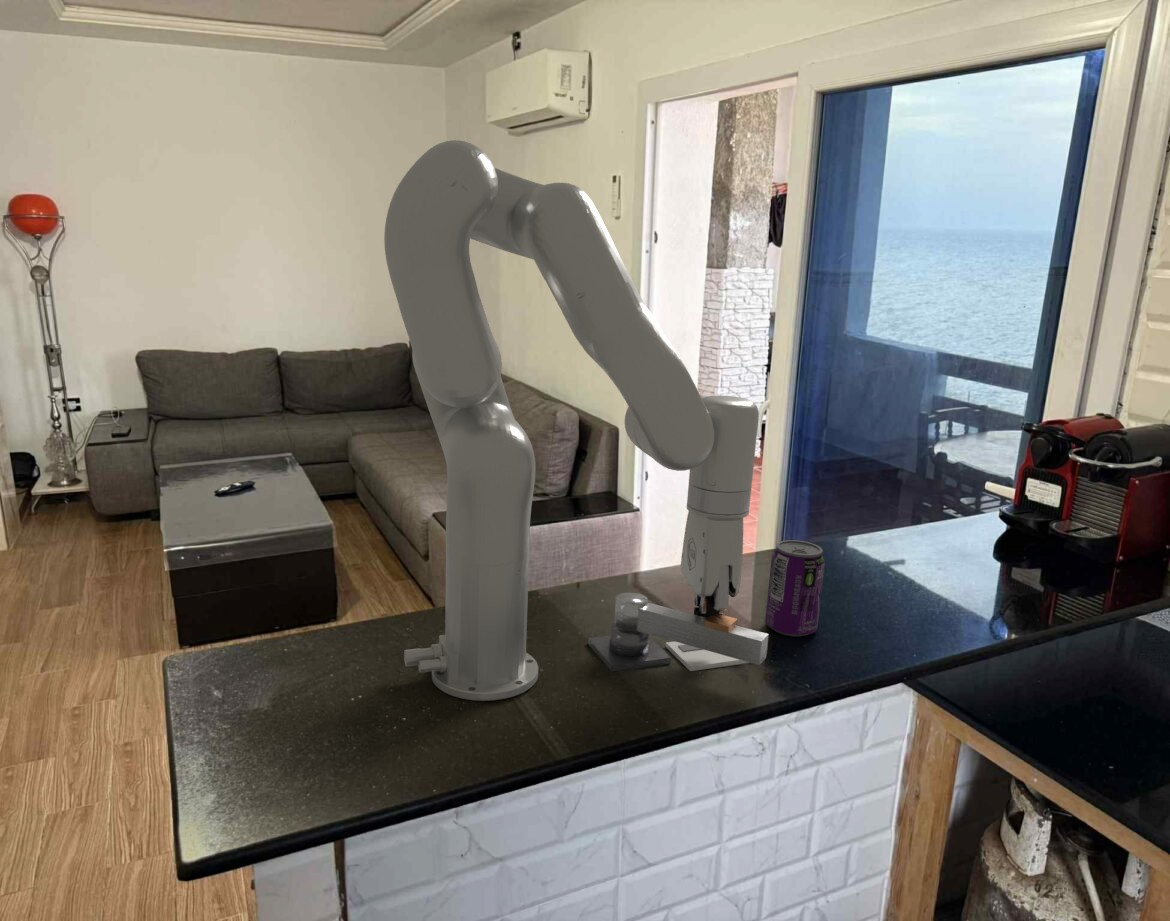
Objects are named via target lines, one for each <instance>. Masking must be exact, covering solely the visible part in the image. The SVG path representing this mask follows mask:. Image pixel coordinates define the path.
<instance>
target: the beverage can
mask: <svg viewBox="0 0 1170 921" xmlns="http://www.w3.org/2000/svg"><path fill="white" fill-rule="evenodd" d="M775 548H776V549H775V550H774V552H773V554H772V555H771V560H770V568H769V569H770V570H769V579H768V580H769V581H768V588H767V589H768V591H767V599H766V600H767V601H766V607H765V608H766V609H765V619H764V623H765V624H766V625H767V627H769V628H770V629H772V630H774V631H775V632H776V633H778V634H780V635H784V636H787V637H794V638H795V637H797V638H799V637H803V636H804V637H805V636H807V635H810V634H811V635H812V634H814V633H816V632H817V630H818V625H819V616H820V609H821V608H820V607H821V599H822V592H823V591H822V590H823V582H824V581H823V580H824V573H825V566H826V564H825V560H824V558H823V552H824V551H823V550H824V549H823V548H822V547H821V546H819V545H818V544H816V543H812V542H809V541H803V540H796V539H794V540H792V539H788V540H787V539H786V540H781V541H778V542H777V543H776V547H775Z"/></svg>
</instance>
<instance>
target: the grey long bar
mask: <svg viewBox="0 0 1170 921" xmlns="http://www.w3.org/2000/svg"><path fill="white" fill-rule="evenodd" d="M614 610H615V611H614V622H615V623H614V622H613V623H614V624H615V626H616V627H617V628H619V629H622V630H625V631H639V632H643V633H646V634H649V636H654V637H657V638H661V639H665V640H668V641H670V642H674V641H675V642H679V643H682V644H686V645H689V646H693V647H696V648H700V649H703V650H707V651H711V652H714V653H718V654H721V655H725V656H728V657H732V658H735V659H739V660H743V661H746V662H750V663H751V664H754V665H758V666H760V665H761V664H762V663H763V662H764V661H765V659H766V658H767V654H768V645H769V644H768V643H769V633H767V632H762V631H758V630H754V629H750V628H747V627H743V626H739V625H738V618H736V617H732V616H727V615H723V614H722V615H721V614H717V613H713V614H712V615H711V616H710V617H709V618H705V617H701V616H698V615H694V613H691V612H690V613H689V612H685V611H681V610H679V609H674V608H672V607H671V608H670V607H666V606H663V605H658V604H656V603H653V602H652V603H651V602H648V597H647V596H645V595H643V594H641V593H637V592H622V593H619V594H617V595H616V596H615V608H614ZM750 663H749V664H750Z"/></svg>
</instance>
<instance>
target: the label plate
mask: <svg viewBox="0 0 1170 921" xmlns="http://www.w3.org/2000/svg"><path fill="white" fill-rule="evenodd" d="M665 648H666V649H667V650H668V651H669V652H670V653H671V654H672V655H673V656H674V657H675V658H676V659H677V660H678V661H679V662H681V664H683V666H685V668H686V669H687V670H689V672H692V671H700V670H707V669H716V668H722V667H729V666H735V665H745V664H750V662H746V661H743V660H739V659H735V658H732V657H728V656H725V655H721V654H718V653H714V652H711V651H707V650H703V649H700V648H696V647H693V646H689V645H686V644H682V643H679V642H675V641H669V642H668V641H666V642H665Z"/></svg>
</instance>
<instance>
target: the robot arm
mask: <svg viewBox="0 0 1170 921" xmlns="http://www.w3.org/2000/svg"><path fill="white" fill-rule="evenodd" d="M388 206H389V207H388V209H387V214H386V219H385V223H384V224H385V226H384V240H383V242H384V243H383V244H384V252H385V254H384V255H385V261H386V264H387V265H386V266H387V270H388V273H389V277H390V281H391V284H392V288H393V290H394V294H395V297H396V301H397V304H398V308H399V310H400V314H401V315H400V316H401V318H402V321H403V324H404V328H405V330H406V334H407V337H408V339H409V342H410V345H411V348H412V354H411V355H412V363H413V367H414V371H415V375H416V376H417V380H418V383H419V384H420V388H421V391H422V394H423V397H424V399H425V402H426V406H427V409H428V411H429V414H430V417H431V419H432V422H433V426H434V429H435V431H436V435H437V436H438V441H439V443H440V445H441V446H440V447H441V450H442V452H443V455H444V459H445V463H446V473H447V474H446V476H447V481H446V482H447V484H446V485H447V491H446V492H447V494H446V512H445V514H446V516H445V609H444V610H445V611H444V612H445V615H444V616H445V617H444V618H445V623H444V624H445V625H444V626H445V632H444V633H445V634H440V635H439V636H438V643H433V644H431V645H430V647H426V648H420V647H418V648H412V649H411V648H409V649H404V650H403V651H404V652H403V660H404V666H405V667H413V666H417V667H418V672H419V674H424V673H429V672H431V681H432V682H433V684H434V685H435V687H437V689H439V690H440V691H442V692H444V693H445V694H448V695H449V696H452V697H455V698H458V699H464V700H468V701H469V700H470V701H481V702H487V701H498V700H505V699H509V698H512V697H515V696H518V695H521V694H523V693H525V692H526V691H529V689H530V688H532V687H533V686H534V685H535V684H536V682H537V681H538V678H539V665H538V664H539V663H538V662H537V660H536V659H535V658H534V657H533V656H532V655H531V654H529V653H528V652H527V626H528V600H529V599H528V597H529V596H528V595H529V570H530V569H529V567H530V563H529V562H530V538H531V536H530V530H531V514H532V505H533V498H534V497H533V496H534V491H535V483H536V467H537V466H536V458H535V452H534V449H533V448H534V447H533V445H532V443H531V440H530V438H529V436H528V434H527V432H526V431H525V430H524V428H523V427H522V426H521V424H519V422H517V420H516V419H515V416H514V414H513V411H512V407H511V404H510V402H509V398H508V395H507V392H506V388H505V385H504V381H503V379H502V376H501V374H502V364H503V363H502V356H501V353H500V352H501V351H500V349H499V346H498V343H497V341H496V340H495V337H494V336H493V332H492V330H491V327H490V324H489V321H488V318H487V315H486V313H485V308H484V305H483V303H482V300H481V297H480V296H481V295H480V292H479V289H478V285H477V280H476V277H475V274H474V270H473V267H472V263H471V255H470V244H471V242H470V241H471V240H473V241H476V242H479V243H481V244H483V245H484V244H485V245H488V246H489V247H490V246H491V247H493V248H495V249H499V250H501V251H504V252H507V253H511V254H514V255H516V256H520V257H524V258H526V259H530V260H533V261H534V263H535V265H536V267H537V268H538V270H539V272H540V274H541V276H542V278H543V280H544V281H545V282H546V284H547V286H548V288H549V290H550V292H551V294H552V296H553V297H554V300H555V301H556V303H557V305H558V307H559V309H560V310H561V313H562V315H563V317H564V319H565V320H566V323H567V324H568V326H569V328H570V330H571V332H572V333H573V335H574V337H575V339H576V340H577V342H578V343H579V345H580V346H581V347H582V349H583V350H584V352H585V353H586V354H587V355H588V356H589V357H590V358H591V360H593V361H594V362H595V363H596V364H597V365H598V366H599V367H600V368H601V369H602V370H603V371H604V373H605V374H606V375H607V377H608V378H610V380H611V381H612V383H613V384H614V385H615V387H616V388H617V390H618V391H619V393H620V395H621V396H622V398H623V399H624V401H625V403H626V404H627V406H628V407H627V409H626V412H625V415H624V429H625V432H626V435H627V436H628V438H629V440H630V441H631V442H632V443H633V445H634V446H635V447H636V448H638V449H639V450H640V451H642V452H643V453H644V454H645V455H647V456H649V457H650V458H651V459H653V460H654V461H655V462H657V463H658V465H661V466H662V467H663V468H665V469H668V470H672V471H677V472H679V471H680V472H681V471H683V472H684V471H685V472H686V471H689V475H688V476H689V477H688V487H687V488H688V489H687V500H686V510H687V511H688V513H687V518H686V521H685V528H684V529H685V530H684V537H683V543H682V551H681V559H680V571H681V574H682V576H683V578H684V580H686V581H687V583H688V585H689V586H690V587H691V589H692V590H693V591H694V600H693V601H694V602H693V603H694V608H693V614H694V615H698V616H701V617H705V618H709V617H710V616H711V615H712V614H713V613H717V614H721V615H723V614H724V611H729V606H730V605H729V596H730V597H731V598H735V597H736V596H737V595H738V594H739V592H740V587H741V579H742V571H743V570H742V569H743V555H744V553H743V552H744V519H745V518H746V517H748V516H749V514H750V506H751V495H752V485H753V476H754V475H753V474H754V466H755V465H754V464H755V457H756V455H755V454H756V446H757V439H758V438H757V437H758V429H759V427H758V426H759V417H760V416H759V415H760V413H759V408H758V406H757V404H756V403H755V402H754V401H752V400H750V399H747V398H744V397H739V396H731V395H708V396H704V397H702V396H701V394H700V392H699V391H698V388H697V386H696V384H695V381H694V380H693V378H692V377H691V374H690V373H689V371H688V368H687V367H686V366H685V364H684V362H683V360H682V359H681V358H680V356H679V354H678V352H676V349H675V348H674V347H673V346H672V343H671V342H670V340H669V339H668V338H667V336H666V335H665V334H664V331H663V330H662V328H661V327H660V324H658V322H657V320H656V318H655V317H654V315H653V314H652V313H651V312H650V310H649V308H648V307H647V306H646V303H645V302H644V301H643V298H642V296H641V295H640V292H639V291H638V288H637V286H636V285H635V283H634V281H633V279H632V277H631V276H630V274H629V270H628V269H627V267H626V265H625V263H624V261H623V259H622V257H621V255H620V252H619V251H618V249H617V247H616V244H615V243H614V241H613V238H612V236H611V234H610V232H609V231H608V228H607V227H606V224H605V223H604V221H603V218H602V217H601V215H600V213H599V211H598V208H596V205H595V204H594V202H593V200H592V199H591V197H590V196H589V195H588V193H586V192H585V191H584V189H582V188H581V187H578V186H577V185H575V184H572V183H568V182H552V183H547V184H541V183H538V182H534V181H532V180H530V179H529V180H528V179H525V178H523V177H521V176H518V175H515V174H512V173H509V172H507V171H504V170H501V169H500V168H496V167H495V166H494V164H493V162H492V161H491V159H490V157H489V156H488V155H487V153H485V151H483V150H482V149H481V148H479V147H478V146H476V145H474V144H472V143H471V142H468V141H464V140H460V139H459V140H458V139H457V140H456V139H454V140H446V141H443V142H440V143H438V144H435V145H434V146H432V147H430V148H429V149H427V151H425V152H424V153H423V154H422V155H421V156H420V157H419V158H418V159H417V160H416V161H415V162H414V163H413V165H411V167H410V168H409V170H407V172H406V173H405V175H404V176H403V177H402V179H401V181H399V183H398V185H397V187H396V189H395V191H394V193H393V195H392V198H391V200H390V203H389V205H388Z"/></svg>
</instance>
